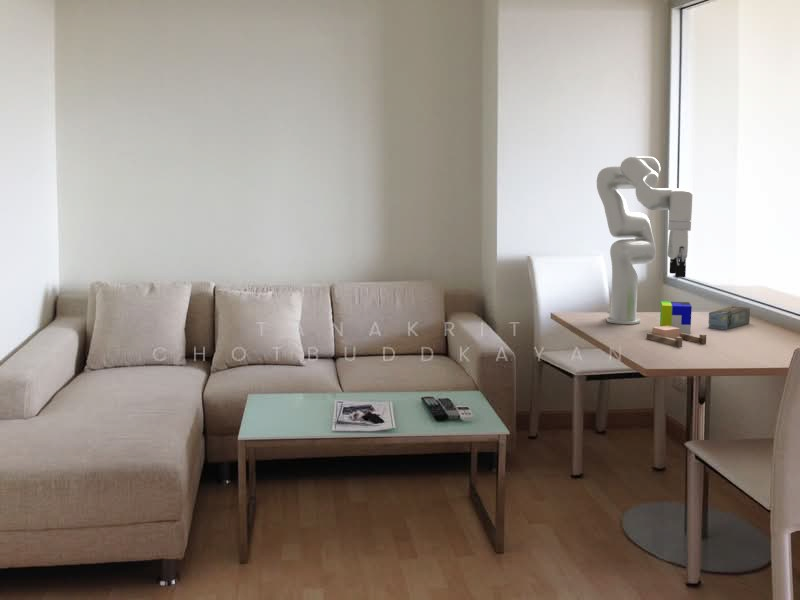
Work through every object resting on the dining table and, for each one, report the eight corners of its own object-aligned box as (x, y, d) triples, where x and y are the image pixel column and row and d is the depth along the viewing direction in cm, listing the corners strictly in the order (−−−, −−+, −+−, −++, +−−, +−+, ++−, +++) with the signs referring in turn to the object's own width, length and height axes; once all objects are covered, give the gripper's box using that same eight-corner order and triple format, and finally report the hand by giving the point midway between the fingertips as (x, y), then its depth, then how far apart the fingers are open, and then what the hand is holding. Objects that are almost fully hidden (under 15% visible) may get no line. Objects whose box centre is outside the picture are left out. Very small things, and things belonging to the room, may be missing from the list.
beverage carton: (707, 327, 358) (707, 310, 357) (730, 321, 371) (731, 304, 370) (727, 330, 352) (728, 312, 351) (750, 324, 366) (751, 306, 365)
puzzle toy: (690, 334, 345) (691, 306, 343) (661, 332, 347) (662, 305, 345) (687, 329, 354) (689, 302, 353) (659, 328, 356) (660, 301, 355)
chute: (646, 338, 336) (646, 329, 336) (673, 335, 341) (673, 327, 341) (678, 346, 322) (678, 337, 321) (706, 343, 327) (706, 334, 327)
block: (652, 338, 337) (652, 327, 336) (667, 336, 340) (667, 325, 340) (664, 341, 332) (664, 330, 331) (679, 339, 335) (680, 328, 335)
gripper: (663, 223, 340) (661, 271, 343) (674, 227, 323) (671, 278, 326) (684, 224, 339) (682, 272, 342) (696, 228, 322) (694, 278, 325)
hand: (677, 275), depth 334 cm, fingers open, 9 cm apart
